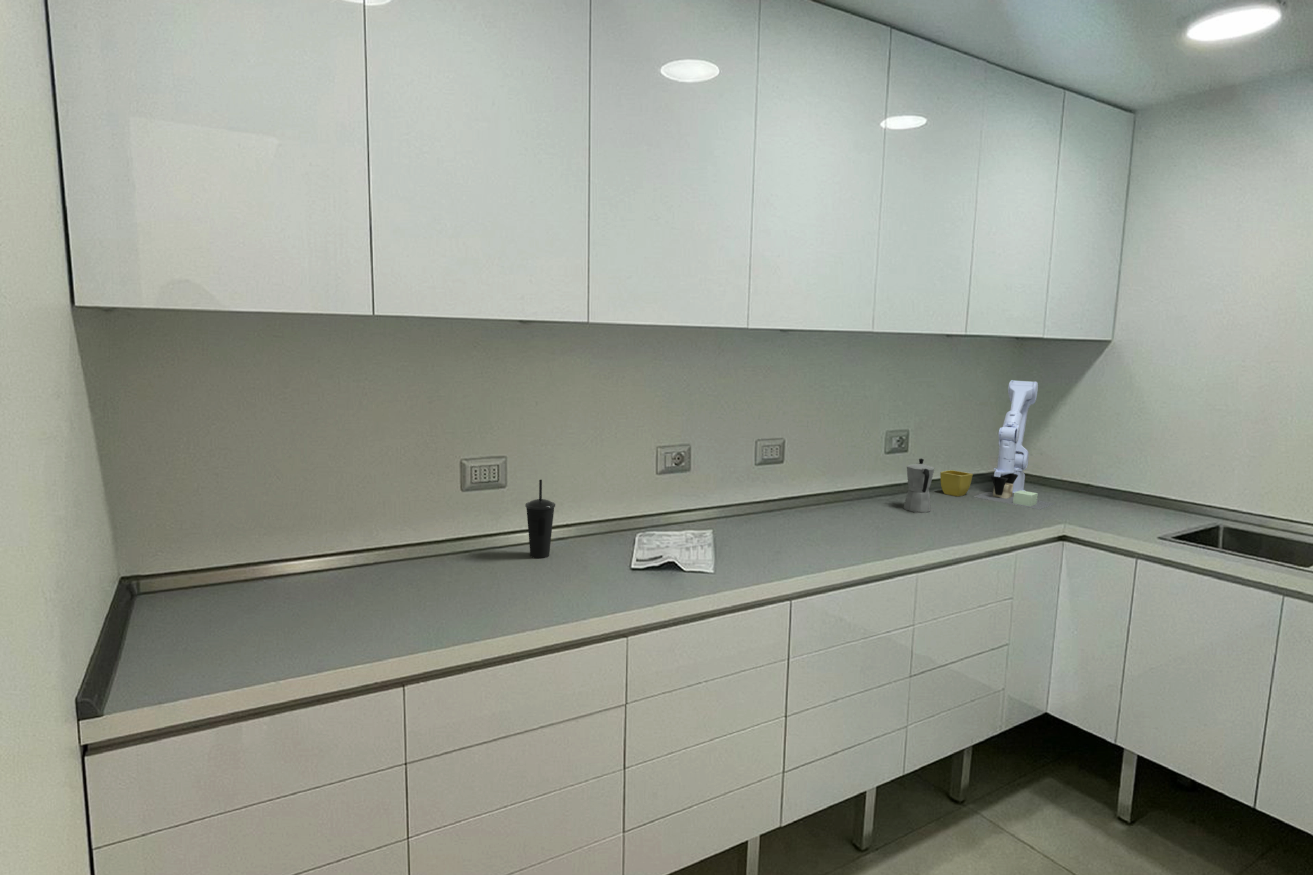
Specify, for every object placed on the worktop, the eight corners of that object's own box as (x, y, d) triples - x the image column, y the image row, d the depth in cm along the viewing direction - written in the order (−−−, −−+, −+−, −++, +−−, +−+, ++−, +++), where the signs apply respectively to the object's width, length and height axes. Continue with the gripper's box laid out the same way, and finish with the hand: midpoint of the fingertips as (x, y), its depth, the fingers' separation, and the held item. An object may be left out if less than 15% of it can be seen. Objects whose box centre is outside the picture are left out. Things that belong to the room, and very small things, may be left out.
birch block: (998, 494, 277) (999, 481, 277) (1011, 496, 274) (1013, 484, 273) (992, 496, 274) (994, 483, 273) (1006, 498, 270) (1007, 485, 270)
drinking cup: (560, 554, 188) (561, 479, 185) (541, 562, 182) (542, 484, 179) (538, 549, 192) (538, 475, 189) (518, 556, 186) (519, 480, 183)
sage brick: (1019, 500, 268) (1020, 490, 267) (1036, 504, 263) (1037, 493, 263) (1012, 503, 264) (1014, 492, 263) (1030, 506, 259) (1031, 495, 259)
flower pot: (949, 492, 282) (951, 469, 280) (971, 496, 275) (973, 473, 274) (937, 495, 276) (939, 471, 275) (959, 499, 269) (961, 475, 268)
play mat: (989, 493, 282) (989, 491, 282) (1055, 505, 265) (1055, 503, 265) (972, 498, 272) (972, 496, 272) (1039, 511, 255) (1040, 509, 255)
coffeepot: (898, 504, 258) (902, 454, 256) (925, 505, 258) (930, 455, 255) (909, 514, 243) (914, 462, 240) (938, 516, 242) (943, 463, 240)
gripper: (1003, 454, 280) (999, 489, 282) (987, 458, 270) (983, 493, 272) (1022, 457, 274) (1018, 492, 276) (1006, 461, 265) (1003, 497, 267)
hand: (1002, 493), depth 274 cm, fingers open, 7 cm apart
